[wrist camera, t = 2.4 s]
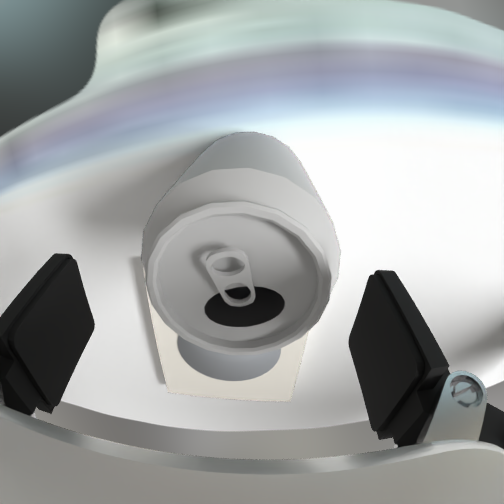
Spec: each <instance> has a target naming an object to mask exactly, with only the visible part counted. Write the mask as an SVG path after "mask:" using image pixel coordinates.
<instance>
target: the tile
mask: <svg viewBox="0 0 504 504" xmlns="http://www.w3.org/2000/svg"><path fill="white" fill-rule="evenodd" d="M143 272H144V279H145V271H144V267H143ZM145 285H146V284H145ZM146 291H147V287H146ZM147 297H148V303H149V308H150V314H151V319H152V324H153V329H154V334H155V339H156V343H157V348H158V352H159V357H160V361H161V366H162V370H163V374H164V378H165V382H166V386H167V390H168V393H175V394H183V395H191V396H200V397H209V398H221V399H234V400H250V401H278V402H290V401H291V397H292V394H293V390H294V386H295V383H296V379H297V375H298V372H299V368H300V364H301V360H302V356H303V352H304V348H305V344H306V340H307V336H308V332H309V331H308V332H307V333H306V334H305V335H304V336H303V337H302V338H300V339H298V340H296V341H294V342H292V343H291V344H289V345H287V346H285V347H283V348H281V349H278V350H274V351H270V352H266V353H262V354H258V355H227V354H223V353H218V352H213V351H209V350H206V349H203V348H201V347H199V346H197V345H195V344H193V343H191V342H189V341H186V340H184V339H183V338H182V337H180V336H179V335H178V334H177V333H176V332H174V331H173V330H172V329H171V328H169V327H168V326H167V325H166V324H165V323H164V322H163V320H162V319H161V317H160V316H159V314H158V313H157V312H156V310H155V309H154V307H153V306H152V304H151V301H150V298H149V294H148V291H147Z"/></svg>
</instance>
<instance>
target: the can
mask: <svg viewBox="0 0 504 504" xmlns="http://www.w3.org/2000/svg"><path fill="white" fill-rule="evenodd" d="M340 255H341V249H340V246H339V242H338V238H337V235H336V231H335V228H334V224H333V222H332V220H331V218H330V216H329V214H328V212H327V210H326V208H325V206H324V204H323V202H322V200H321V198H320V196H319V194H318V193H317V191H316V189H315V187H314V185H313V183H312V181H311V180H310V178H309V176H308V174H307V172H306V171H305V169H304V167H303V165H302V163H301V162H300V160H299V159H298V158H297V156H296V155H295V154H294V153H293V151H292V150H291V149H290V148H289V147H288V146H287V145H285V144H284V143H282V142H281V141H279V140H278V139H276V138H274V137H272V136H269V135H265V134H261V133H258V132H240V133H233V134H231V135H228V136H226V137H223V138H221V139H218V140H217V141H215V142H214V143H213V144H212V145H211V146H209V147H208V148H207V149H206V150H205V151H204V152H203V153H202V154H201V155H200V156H199V157H198V158H197V159H196V160H195V161H194V162H193V164H192V165H191V166H190V167H189V168H188V169H187V170H186V171H185V172H184V174H183V175H182V176H181V177H180V178H179V179H178V180H177V181H176V183H175V184H174V185H173V186H172V187H171V188H170V190H169V191H168V192H167V193H166V194H165V195H164V197H163V198H162V199H161V200H160V201H159V203H158V204H157V205H156V207H155V209H154V211H153V213H152V215H151V217H150V219H149V221H148V223H147V225H146V227H145V229H144V232H143V242H142V254H141V259H142V263H143V267H144V271H145V284H146V287H147V291H148V294H149V298H150V301H151V304H152V306H153V307H154V309H155V310H156V312H157V313H158V314H159V316H160V317H161V319H162V320H163V322H164V323H165V324H166V325H167V326H168V327H169V328H171V329H172V330H173V331H174V332H176V333H177V334H178V335H179V336H180V337H182V338H183V339H184V340H186V341H189V342H191V343H193V344H195V345H197V346H199V347H201V348H203V349H206V350H209V351H213V352H218V353H223V354H227V355H258V354H262V353H266V352H270V351H274V350H278V349H281V348H283V347H285V346H287V345H289V344H291V343H292V342H294V341H296V340H298V339H300V338H302V337H303V336H304V335H305V334H306V333H307V332H308V331H309V330H310V329H311V328H312V327H313V326H314V325H315V324H316V323H317V322H318V321H319V319H320V317H321V315H322V313H323V311H324V309H325V308H326V306H327V304H328V302H329V298H330V294H331V292H332V290H333V288H334V285H335V283H336V281H337V279H338V275H339V265H340Z"/></svg>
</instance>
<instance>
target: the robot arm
mask: <svg viewBox="0 0 504 504" xmlns="http://www.w3.org/2000/svg"><path fill="white" fill-rule="evenodd" d="M94 325H95V324H94V319H93V316H92V313H91V310H90V307H89V304H88V300H87V297H86V294H85V290H84V287H83V283H82V280H81V276H80V272H79V269H78V265H77V262H76V260H75V259H73V257H72V256H71V255H70V254H59V253H56V254H54V255H53V256H52V257H51V258H50V259H49V260H48V261H47V262H46V263H45V264H44V265H43V266H42V268H41V269H40V270H39V271H38V272H37V273H36V274H35V275H34V277H33V278H32V279H31V280H30V281H29V282H28V283H27V285H26V286H25V287H24V288H23V289H22V291H21V292H20V293H19V294H18V295H17V297H16V298H15V299H14V300H13V301H12V303H11V304H10V305H9V306H8V308H7V309H6V310H5V312H4V313H3V314H2V315H1V317H0V504H504V412H503V411H501V410H499V409H498V408H496V407H494V406H492V405H490V404H488V403H487V391H486V388H485V386H484V384H483V383H482V381H481V380H480V379H479V378H478V377H476V376H475V375H473V374H472V373H469V372H466V371H456V372H453V373H452V374H450V372H449V370H448V367H449V364H448V362H447V360H446V358H445V357H444V355H443V353H442V351H441V349H440V347H439V345H438V343H437V342H436V340H435V338H434V336H433V334H432V333H431V331H430V329H429V327H428V325H427V324H426V322H425V320H424V318H423V317H422V315H421V313H420V312H419V310H418V308H417V307H416V305H415V303H414V302H413V300H412V298H411V297H410V295H409V293H408V292H407V290H406V288H405V287H404V285H403V284H402V282H401V281H400V279H399V277H398V276H397V274H396V273H395V272H394V271H387V270H377V271H376V272H375V273H374V275H370V276H369V278H368V281H367V285H366V288H365V291H364V294H363V298H362V301H361V304H360V307H359V310H358V313H357V316H356V319H355V322H354V325H353V328H352V331H351V333H350V336H349V348H350V352H351V355H352V358H353V362H354V365H355V369H356V372H357V376H358V379H359V383H360V386H361V390H362V394H363V397H364V401H365V405H366V409H367V413H368V416H369V420H370V424H371V428H372V430H373V431H377V434H378V438H379V440H381V439H387V438H392V437H393V439H394V443H395V446H394V448H393V449H389V450H382V451H376V452H369V453H362V454H353V455H344V456H334V457H323V458H309V459H286V460H252V459H227V458H212V457H202V456H192V455H183V454H175V453H168V452H162V451H156V450H150V449H145V448H139V447H134V446H129V445H125V444H120V443H116V442H112V441H107V440H103V439H99V438H95V437H92V436H88V435H85V434H81V433H77V432H74V431H71V430H68V429H65V428H62V427H58V426H55V425H53V424H50V423H47V422H44V421H41V420H39V419H36V416H35V412H34V411H35V408H36V406H37V408H38V409H39V410H42V411H45V412H48V413H50V414H51V413H52V411H53V409H54V406H57V405H58V404H59V402H60V400H61V398H62V396H63V393H64V391H65V389H66V387H67V384H68V382H69V380H70V378H71V376H72V374H73V371H74V369H75V367H76V365H77V363H78V361H79V359H80V357H81V355H82V353H83V351H84V349H85V347H86V345H87V343H88V341H89V339H90V337H91V335H92V333H93V331H94Z"/></svg>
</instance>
